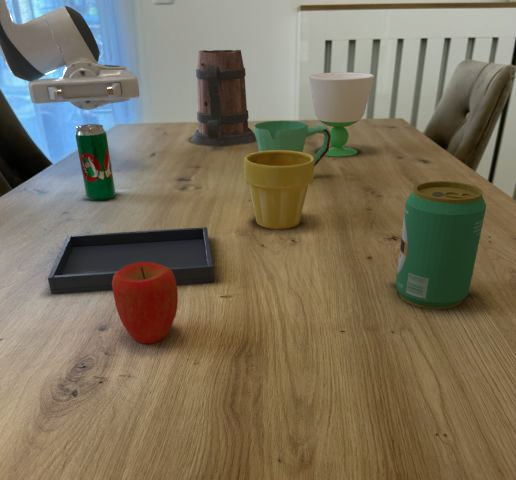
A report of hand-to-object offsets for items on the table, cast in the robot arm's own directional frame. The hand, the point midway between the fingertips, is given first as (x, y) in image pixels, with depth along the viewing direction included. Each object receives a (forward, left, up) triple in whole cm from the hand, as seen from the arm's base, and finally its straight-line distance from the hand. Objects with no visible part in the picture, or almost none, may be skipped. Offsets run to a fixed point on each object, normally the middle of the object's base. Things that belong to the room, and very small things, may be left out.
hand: (85, 93), depth 100 cm
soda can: (+4, -12, -16) cm, 20 cm away
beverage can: (+54, -50, -16) cm, 75 cm away
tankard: (+20, +36, -16) cm, 44 cm away
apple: (+24, -60, -16) cm, 66 cm away
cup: (+48, +23, -16) cm, 56 cm away
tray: (+18, -42, -16) cm, 48 cm away
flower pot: (+36, -25, -16) cm, 46 cm away
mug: (+38, 0, -16) cm, 41 cm away
